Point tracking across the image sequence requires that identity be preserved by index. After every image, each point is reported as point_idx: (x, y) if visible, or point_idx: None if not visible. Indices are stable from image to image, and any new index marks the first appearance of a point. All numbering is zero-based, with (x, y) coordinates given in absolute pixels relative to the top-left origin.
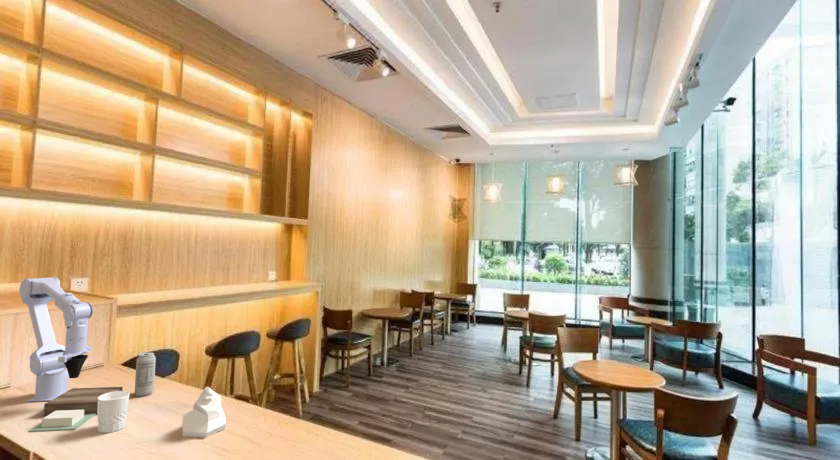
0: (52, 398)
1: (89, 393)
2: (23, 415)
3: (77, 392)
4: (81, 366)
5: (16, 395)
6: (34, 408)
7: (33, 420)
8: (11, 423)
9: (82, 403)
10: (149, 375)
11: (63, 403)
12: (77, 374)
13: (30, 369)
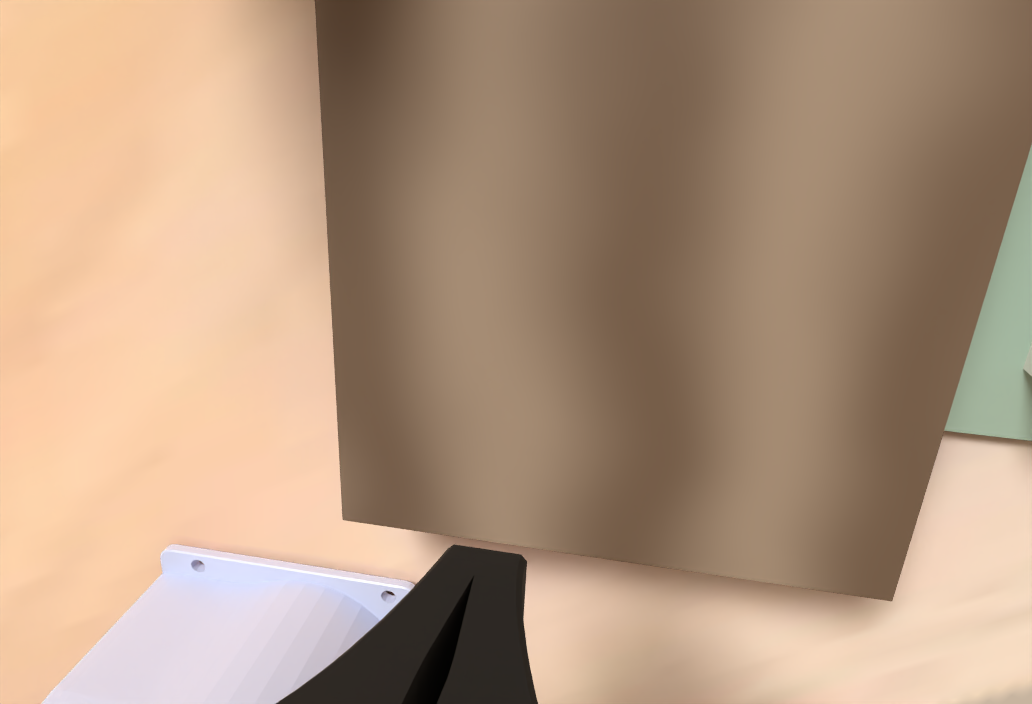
0: (385, 609)
1: (580, 230)
2: (755, 668)
3: (507, 406)
4: (372, 670)
5: None
6: (586, 651)
7: (938, 550)
8: (950, 684)
9: (1023, 140)
10: None
11: (952, 401)
12: (505, 586)
13: None
